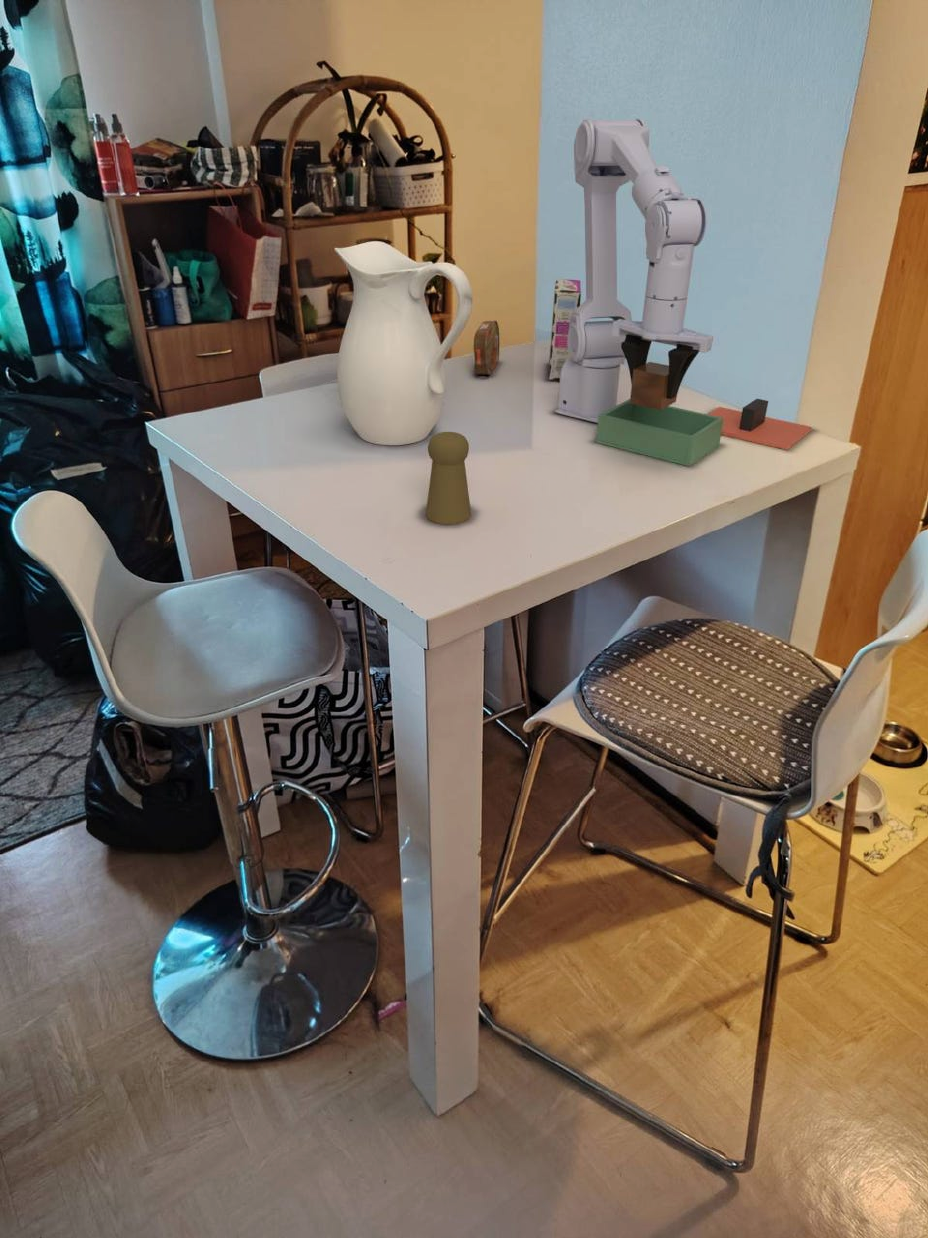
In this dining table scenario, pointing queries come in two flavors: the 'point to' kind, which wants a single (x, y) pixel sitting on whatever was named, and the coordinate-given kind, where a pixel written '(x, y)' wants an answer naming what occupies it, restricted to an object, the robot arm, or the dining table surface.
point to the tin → (486, 347)
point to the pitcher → (394, 344)
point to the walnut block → (651, 386)
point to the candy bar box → (562, 323)
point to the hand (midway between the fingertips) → (653, 392)
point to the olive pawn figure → (448, 479)
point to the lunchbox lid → (760, 426)
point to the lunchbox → (660, 432)
